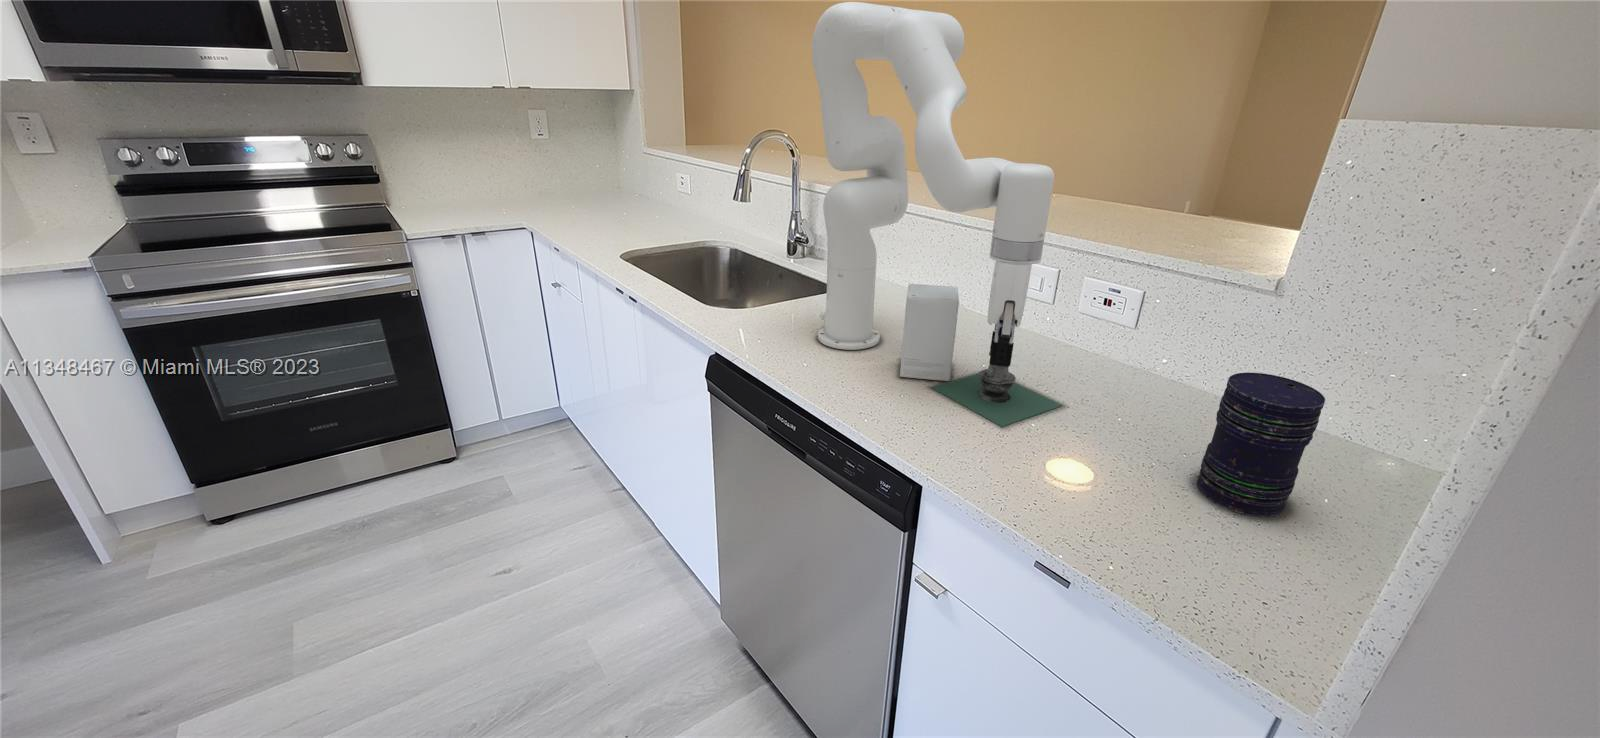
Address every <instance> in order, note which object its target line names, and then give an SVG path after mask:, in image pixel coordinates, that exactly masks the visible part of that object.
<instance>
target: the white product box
mask: <svg viewBox="0 0 1600 738" xmlns="http://www.w3.org/2000/svg"><path fill="white" fill-rule="evenodd" d="M906 293H907V294H906V302H905V309H904V311H905V312H904V320H903V321H904V322H903V333H902V345H901V355H900V357H901V358H900V360H901V361H900V369H899V377H901V378H912V379H921V380H930V381H931V380H933V381H941V382H943V381H944V382H951V373H952V367H953V357H954V349H955V342H956V332H957V322H958V315H959V314H958V313H959V305H960V297H959V289H958V286H952V285H935V284H924V283H923V284H921V283H908V286H907V292H906Z"/></svg>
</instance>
